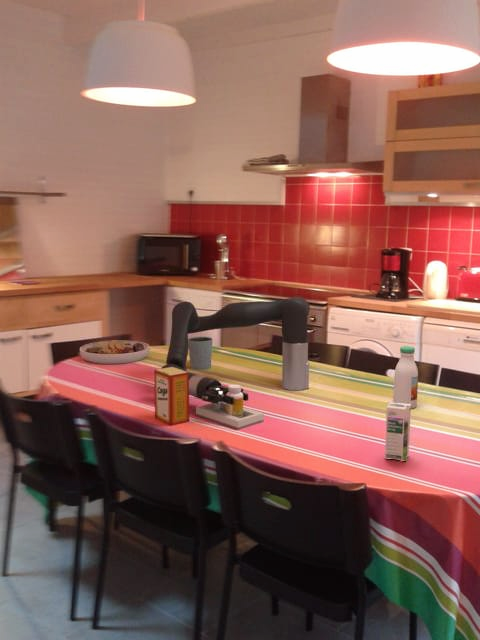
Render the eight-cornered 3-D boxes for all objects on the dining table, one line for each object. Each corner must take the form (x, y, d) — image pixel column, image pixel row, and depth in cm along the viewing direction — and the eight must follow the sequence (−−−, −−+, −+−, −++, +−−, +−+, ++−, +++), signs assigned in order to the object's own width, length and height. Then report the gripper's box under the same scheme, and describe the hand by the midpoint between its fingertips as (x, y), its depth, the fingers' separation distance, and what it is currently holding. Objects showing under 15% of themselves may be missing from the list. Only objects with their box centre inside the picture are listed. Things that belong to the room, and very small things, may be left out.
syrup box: (384, 459, 177) (386, 406, 175) (387, 452, 183) (389, 400, 180) (406, 462, 175) (408, 409, 173) (409, 455, 181) (411, 403, 178)
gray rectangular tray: (196, 415, 214) (195, 407, 214) (221, 408, 222) (221, 400, 221) (238, 429, 200) (238, 421, 200) (263, 421, 208) (263, 413, 208)
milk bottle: (403, 410, 220) (406, 350, 217) (388, 404, 227) (390, 346, 223) (421, 407, 223) (424, 348, 220) (405, 401, 230) (408, 344, 227)
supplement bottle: (245, 415, 210) (246, 385, 209) (238, 420, 206) (238, 389, 204) (230, 412, 213) (230, 382, 211) (222, 417, 208) (223, 387, 206)
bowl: (65, 362, 287) (65, 344, 285) (105, 348, 314) (104, 332, 313) (126, 368, 276) (126, 350, 274) (161, 354, 303) (161, 337, 302)
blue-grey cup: (217, 366, 279) (217, 338, 277) (203, 371, 270) (202, 342, 268) (197, 363, 284) (197, 335, 282) (182, 368, 276) (182, 339, 274)
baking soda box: (155, 418, 211) (154, 368, 208) (172, 414, 215) (172, 365, 212) (171, 425, 204) (170, 374, 201) (189, 421, 208) (188, 371, 205)
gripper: (187, 380, 213) (223, 392, 201) (220, 373, 222) (257, 383, 210) (187, 403, 214) (223, 416, 202) (220, 395, 224) (256, 406, 212)
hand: (240, 399), depth 206 cm, fingers closed on supplement bottle, 5 cm apart
